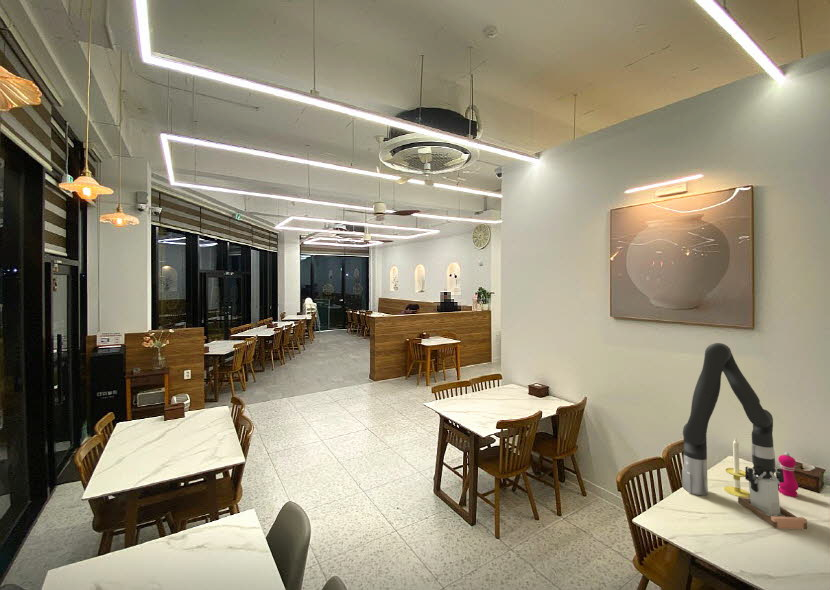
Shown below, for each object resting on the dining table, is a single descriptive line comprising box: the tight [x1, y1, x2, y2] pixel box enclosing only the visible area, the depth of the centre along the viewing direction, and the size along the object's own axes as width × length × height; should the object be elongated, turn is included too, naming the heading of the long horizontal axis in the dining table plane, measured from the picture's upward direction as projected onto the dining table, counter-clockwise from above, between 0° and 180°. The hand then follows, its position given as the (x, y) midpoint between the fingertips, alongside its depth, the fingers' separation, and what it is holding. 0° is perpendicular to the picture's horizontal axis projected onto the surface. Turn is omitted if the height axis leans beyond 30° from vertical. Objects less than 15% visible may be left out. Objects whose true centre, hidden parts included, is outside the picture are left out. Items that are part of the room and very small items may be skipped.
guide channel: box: [737, 496, 808, 530], centre depth 160 cm, size 12×19×2 cm, turn 175°
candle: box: [723, 437, 750, 498], centre depth 179 cm, size 10×10×27 cm
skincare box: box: [748, 475, 781, 517], centre depth 163 cm, size 8×6×15 cm
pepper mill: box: [778, 452, 799, 498], centre depth 176 cm, size 7×7×20 cm
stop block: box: [771, 516, 808, 530], centre depth 151 cm, size 12×2×4 cm, turn 85°
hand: (765, 491), depth 163 cm, fingers open, 8 cm apart
